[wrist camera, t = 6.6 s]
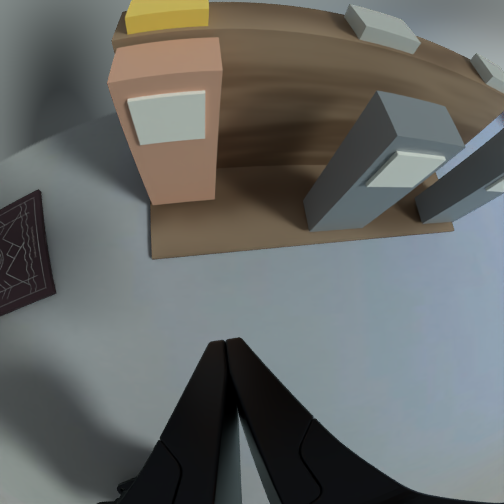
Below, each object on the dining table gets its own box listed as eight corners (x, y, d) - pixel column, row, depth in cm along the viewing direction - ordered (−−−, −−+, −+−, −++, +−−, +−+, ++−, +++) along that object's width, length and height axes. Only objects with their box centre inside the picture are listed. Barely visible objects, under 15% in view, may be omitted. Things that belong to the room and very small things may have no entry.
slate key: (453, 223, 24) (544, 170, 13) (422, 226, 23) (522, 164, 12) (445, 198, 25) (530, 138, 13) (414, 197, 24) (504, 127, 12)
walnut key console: (452, 231, 25) (559, 171, 11) (152, 259, 20) (70, 141, 7) (423, 146, 27) (502, 67, 13) (152, 145, 23) (120, -3, 9)
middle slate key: (362, 230, 22) (467, 150, 11) (309, 234, 22) (399, 140, 10) (354, 198, 23) (445, 106, 11) (302, 200, 22) (376, 90, 11)
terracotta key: (215, 201, 21) (223, 73, 10) (152, 207, 21) (106, 86, 9) (212, 169, 22) (218, 36, 10) (152, 175, 21) (116, 48, 10)
